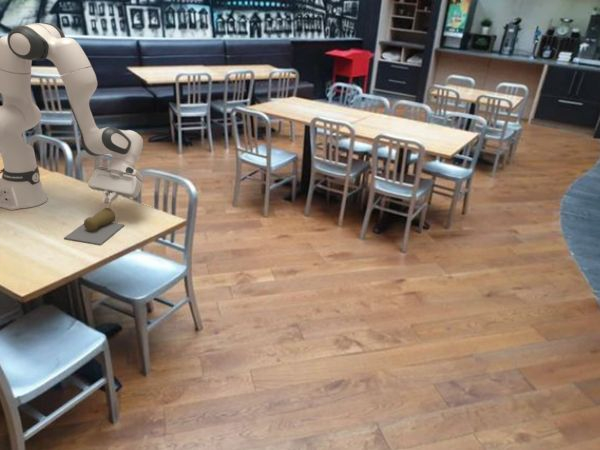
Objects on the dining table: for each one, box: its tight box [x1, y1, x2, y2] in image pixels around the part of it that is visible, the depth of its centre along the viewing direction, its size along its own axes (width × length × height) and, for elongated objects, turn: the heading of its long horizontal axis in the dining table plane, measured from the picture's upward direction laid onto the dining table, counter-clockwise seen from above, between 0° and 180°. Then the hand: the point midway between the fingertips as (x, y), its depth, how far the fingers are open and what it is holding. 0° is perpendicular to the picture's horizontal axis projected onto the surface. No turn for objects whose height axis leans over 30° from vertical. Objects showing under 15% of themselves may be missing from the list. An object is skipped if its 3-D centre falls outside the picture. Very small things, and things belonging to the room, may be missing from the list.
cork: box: [83, 207, 116, 231], centre depth 170 cm, size 6×6×11 cm
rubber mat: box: [63, 222, 125, 246], centre depth 168 cm, size 14×16×1 cm
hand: (107, 203), depth 172 cm, fingers closed
